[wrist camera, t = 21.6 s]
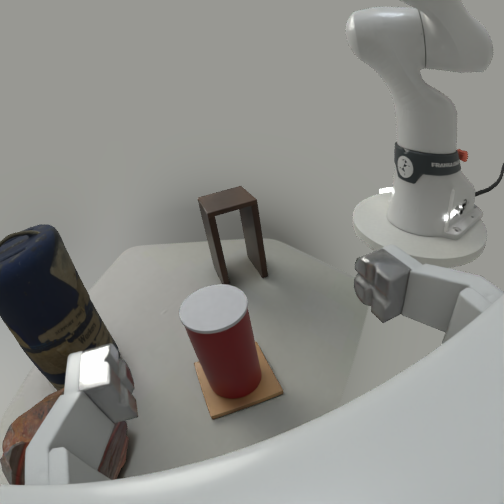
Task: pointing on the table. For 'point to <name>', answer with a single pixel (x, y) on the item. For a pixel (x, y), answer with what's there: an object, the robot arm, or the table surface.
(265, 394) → the coaster
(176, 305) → the table surface
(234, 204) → the brown wooden stand
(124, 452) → the stone
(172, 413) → the table surface
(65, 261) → the canister
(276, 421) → the table surface
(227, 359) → the tube
